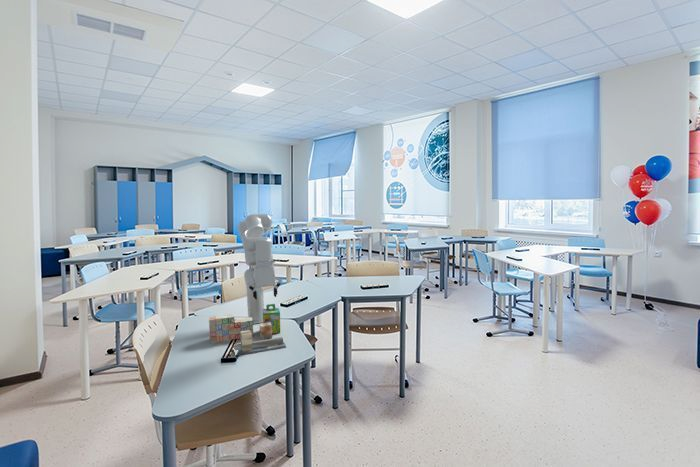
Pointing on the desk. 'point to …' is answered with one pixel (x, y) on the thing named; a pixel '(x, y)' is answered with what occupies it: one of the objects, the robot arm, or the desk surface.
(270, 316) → the chalk box
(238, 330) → the stack of blocks
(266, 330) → the block
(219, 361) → the desk surface
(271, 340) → the rail fixture
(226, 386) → the desk surface
